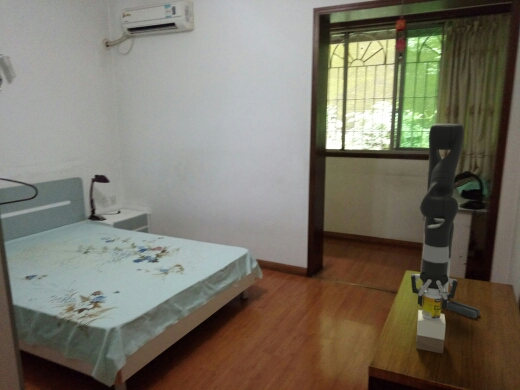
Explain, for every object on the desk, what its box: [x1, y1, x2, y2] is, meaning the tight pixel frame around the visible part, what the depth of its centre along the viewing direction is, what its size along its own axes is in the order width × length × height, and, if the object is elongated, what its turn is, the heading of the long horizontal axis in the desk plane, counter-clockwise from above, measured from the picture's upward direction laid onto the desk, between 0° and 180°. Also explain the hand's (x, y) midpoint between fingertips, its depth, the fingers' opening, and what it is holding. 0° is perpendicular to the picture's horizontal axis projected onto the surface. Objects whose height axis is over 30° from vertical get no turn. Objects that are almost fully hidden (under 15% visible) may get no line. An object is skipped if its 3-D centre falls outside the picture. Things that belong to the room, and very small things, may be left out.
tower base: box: [415, 334, 445, 354], centre depth 130 cm, size 8×8×5 cm
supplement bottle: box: [421, 287, 442, 320], centre depth 128 cm, size 6×6×10 cm
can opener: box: [440, 292, 481, 319], centre depth 154 cm, size 19×5×6 cm, turn 41°
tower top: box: [416, 309, 446, 341], centre depth 129 cm, size 8×8×5 cm
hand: (431, 306), depth 128 cm, fingers open, 6 cm apart
